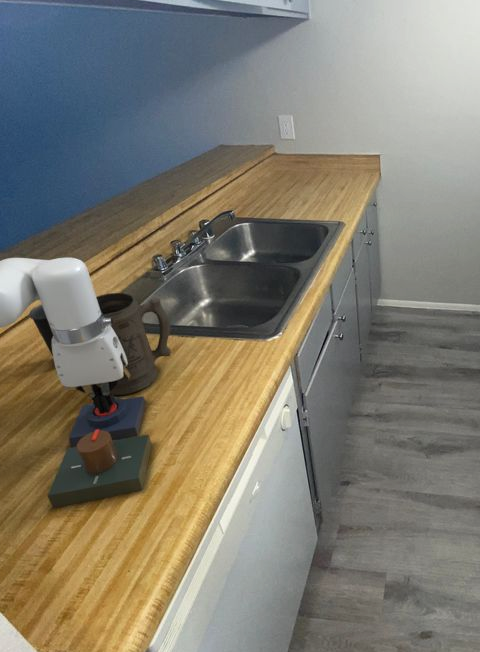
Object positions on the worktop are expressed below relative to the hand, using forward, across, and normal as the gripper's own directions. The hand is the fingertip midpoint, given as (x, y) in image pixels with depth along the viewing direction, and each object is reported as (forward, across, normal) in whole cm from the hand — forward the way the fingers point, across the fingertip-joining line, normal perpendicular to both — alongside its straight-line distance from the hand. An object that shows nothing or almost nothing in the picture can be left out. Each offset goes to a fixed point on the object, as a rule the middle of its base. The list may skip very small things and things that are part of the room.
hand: (106, 407), depth 90 cm
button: (+2, 0, 0) cm, 2 cm away
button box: (+4, 0, 0) cm, 4 cm away
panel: (+4, -2, +13) cm, 14 cm away
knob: (+1, -2, +13) cm, 13 cm away
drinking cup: (+4, +14, -25) cm, 29 cm away
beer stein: (+4, -3, -15) cm, 16 cm away
